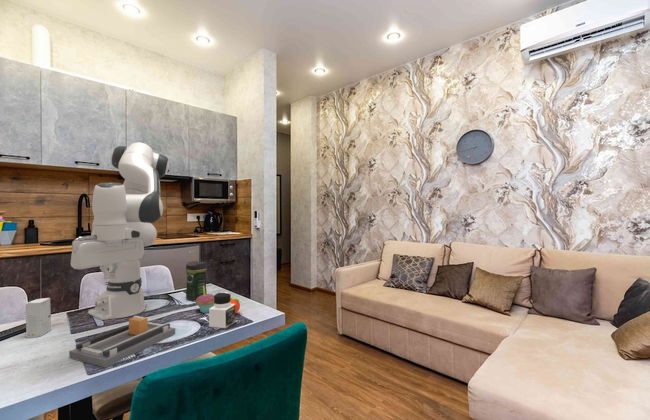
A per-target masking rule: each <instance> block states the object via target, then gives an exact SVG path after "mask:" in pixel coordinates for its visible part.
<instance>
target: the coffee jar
mask: <svg viewBox="0 0 650 420" xmlns="http://www.w3.org/2000/svg"><path fill="white" fill-rule="evenodd" d="M207 269H208V268H207V263H206V262H204V261H197V260H194V261H193V260H192V261H188V262H186V265H185V272H186V287H185V288H186V290H185V291H186V292H185V297H186V300H188V301H193V302H196V299H197V298H198V297H199V296H201V295H204V292H203V285H204V286H205V294H208V292H207V275H206V274H207Z"/></svg>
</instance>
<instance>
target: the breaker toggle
mask: <svg viewBox="0 0 650 420" xmlns="http://www.w3.org/2000/svg"><path fill="white" fill-rule="evenodd" d="M148 322H149V321H148V317H145V316H139V315H132V317H130V318H128V325H129V334H133V335H139V334H141V333H143V332H146V331H148Z"/></svg>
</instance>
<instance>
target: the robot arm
mask: <svg viewBox="0 0 650 420" xmlns="http://www.w3.org/2000/svg"><path fill="white" fill-rule="evenodd" d="M110 154H111V155H110V161H111V164H112V167H113V168H114V169H117V170H118V172H119V175H120V176H121V177H122V178H123V179H124V182H123V183H119V182H100V183H98V184H96V185H95V186H94V189H93V193H92V194H93V196H92V205H91V206H92V209H91V210H92V213H93V221H92V231H91V235H87V236H77V238H75V239H74V240H73V241H72V243H71V250H72V251H71V256H70V257H71V258H70V267H71V268H73V269H74V270H84V269H90V268H98V267H99V270H100V271H101V272H102V273H103V279H104V280H109V281H107V282H105V286H106V290H105V291H104V292H102V293H101V294H100V295H99V296H98V297H97V298H96V299H95V301H94V308H92V309H90V310H89V311H87V314H88V315H90V316H92V317H95V318H97V319H99V320H101V321H106V320H112V319H122V318H127V317H133V316H137V315H138V314H141V313H142V312H144V311H145V308H146V307H147V303H145V297H144V291H143V288H141V287H142V286H143V285H142V283H143V281H142V277H141V261H140V260H142V259H143V257H144V255H145V247H150V246H152V245H153V244H154V243H155V241H156V239H157V237H158V232H157V229H156V227H155V226H154V225H153V224H155V223H156V222H158V221H159V220H160V219H161V218H162V217H163V213H164V205H163V201H162V195H161V194H162V191H161V180H160V179H161V178H163V177H165V176H166V174H167V173H168V172H169V169H170V162H169V158H168V157H167V156H165V155H163V154H162V153H161V154H160V153H157V152H154V151H153V148H152V147H151V146H149V145H148V144H147V143H144V142H139V141H138V142H133V143H131V144H130V145H129V146H126V145H117V146H115V147H114V149H113V151H112V152H111V153H110Z"/></svg>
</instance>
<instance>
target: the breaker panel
mask: <svg viewBox="0 0 650 420" xmlns="http://www.w3.org/2000/svg"><path fill="white" fill-rule="evenodd" d="M163 325H164V324H162V323H155V322H151V321H148V331H146V332H143V333H141V334H139V335H133V334H129V330H126V331H124V332H121V333H119V334H116V335H114V336H111V337H109V338H106V339H104V340H101V341H99V342H96V343H94V344H91V345H90V342H87V343H85V344H82V348H81V349H76V348H74V349H72V350H69V356H68V357H69V359H73V360H75V361H80V362H83V363H87V364H90V365H94V366H98V367H102V368H107V367H110V366H112V365H114V364H115V363H116V364H117V363H118V362H119V361H122V360H124V359H126V358H129V357H130V355H131V356H133V355H135V354H137V353H139V352H140V351H143V350H145V349H148V348H149V347H151V346H153V345H155V344H157V343H160V342H161V341H163V340H165V339H167V338H170V337H172V336H174V335H175V334H176V328H175V327H171V326H170V328H168V325H167V326H165V327H163V331H161V332H159V333H156V334H154V335H152V336H150V337H148V338H145V339H143V340H141V341H139V342H136V343H134V344H132V345H130V346H128V347H125V348H123V349H121V350H119V351H117V348H115V349H113V350H110V351H109V355H108V356H103V351H105V350H107V349H110V348H112V347H114V346H117V345H119V344H121V343H124V342H126V341H128V340H131V339H133V338H135V337H138V336H140V335H142V334H144V333H147V332H149V331H151V330H154V329H156V328H158V327H161V326H163ZM85 341H86V340H85ZM85 341H83V342H85ZM80 343H81V342H79V343H78V344H80ZM128 356H129V357H128ZM123 358H124V359H123ZM121 359H122V360H121ZM113 363H114V364H113ZM111 364H112V365H111ZM109 365H110V366H109Z"/></svg>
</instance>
